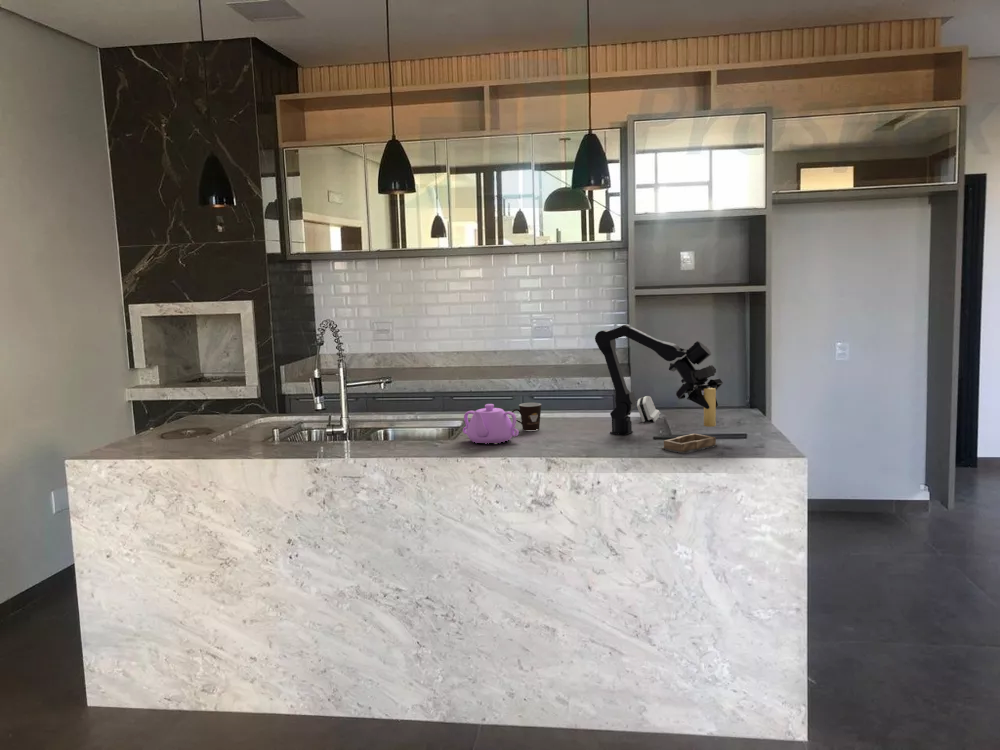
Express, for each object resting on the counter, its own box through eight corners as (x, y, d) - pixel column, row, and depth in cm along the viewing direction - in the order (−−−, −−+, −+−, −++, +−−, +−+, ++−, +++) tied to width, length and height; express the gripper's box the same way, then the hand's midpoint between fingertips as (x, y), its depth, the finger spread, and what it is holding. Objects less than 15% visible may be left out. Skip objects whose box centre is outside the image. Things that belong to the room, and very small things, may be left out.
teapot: (448, 448, 277) (447, 410, 276) (471, 435, 298) (470, 399, 296) (506, 450, 270) (505, 411, 268) (526, 437, 290) (525, 401, 288)
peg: (701, 425, 272) (701, 388, 270) (709, 423, 274) (709, 387, 272) (709, 427, 268) (709, 390, 266) (718, 425, 270) (718, 388, 268)
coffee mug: (542, 427, 307) (541, 402, 306) (541, 431, 299) (540, 406, 297) (513, 427, 308) (512, 403, 307) (511, 432, 300) (510, 406, 299)
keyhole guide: (683, 453, 256) (683, 444, 255) (661, 448, 264) (661, 440, 263) (716, 446, 265) (716, 437, 264) (694, 441, 273) (694, 433, 272)
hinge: (654, 422, 309) (646, 398, 309) (643, 425, 311) (634, 402, 311) (660, 414, 325) (652, 391, 325) (650, 417, 326) (641, 395, 326)
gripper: (682, 360, 266) (707, 396, 258) (718, 355, 276) (743, 389, 269) (665, 381, 273) (689, 416, 266) (701, 375, 284) (725, 409, 276)
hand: (712, 407), depth 269 cm, fingers closed on peg, 4 cm apart
